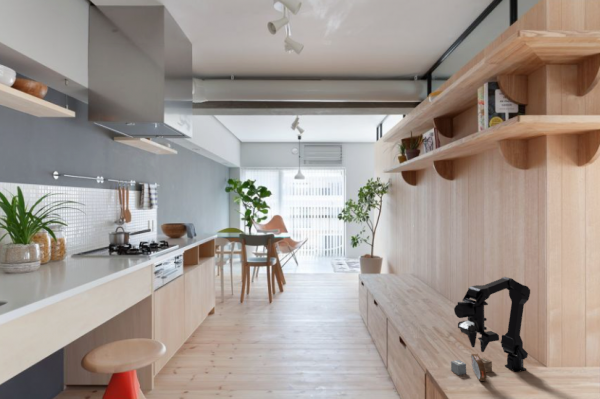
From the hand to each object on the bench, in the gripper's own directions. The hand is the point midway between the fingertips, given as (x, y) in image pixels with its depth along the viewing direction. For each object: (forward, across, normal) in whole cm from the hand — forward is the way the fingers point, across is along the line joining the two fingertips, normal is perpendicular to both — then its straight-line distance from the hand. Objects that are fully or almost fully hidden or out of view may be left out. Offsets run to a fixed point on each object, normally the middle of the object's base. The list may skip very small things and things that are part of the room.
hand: (477, 349), depth 163 cm
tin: (+12, 0, 0) cm, 12 cm away
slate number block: (+12, -6, -6) cm, 15 cm away
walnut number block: (+12, -4, +8) cm, 15 cm away
